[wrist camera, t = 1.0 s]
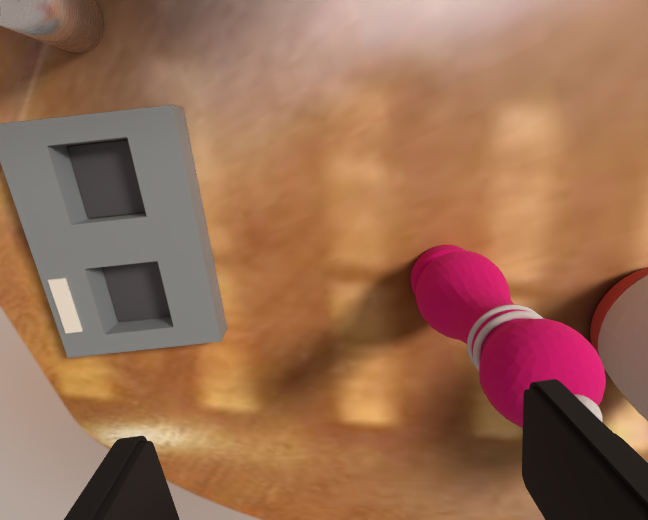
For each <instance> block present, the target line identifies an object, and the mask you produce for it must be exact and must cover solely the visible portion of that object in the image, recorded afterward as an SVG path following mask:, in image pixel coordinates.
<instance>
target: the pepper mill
mask: <svg viewBox="0 0 648 520" xmlns="http://www.w3.org/2000/svg"><path fill="white" fill-rule="evenodd" d="M410 283H411V288H412V290H413V292H414V294H415V296H416V302H417V306H418V309H419V311H420V313H421V315H422V316H423V318H424V319H425V320H426V321H427V322H428V324H429V325H430V326H431V327H432V328H434V329H435V330H437V331H438V332H439V333H441V334H443V335H445V336H447V337H450V338H453V339H458V340H461V341H463V342H465V343H466V344H467V350H468V354H469V357H470V359H471V361H472V363H473V364H474V365H475V366H476V368H477V369H478V371H479V375H480V383H481V385H482V388H483V390H484V393H485V394H486V396H487V398H488V399H489V401H490V402H491V404H492V405H493V406H494V407H495V409H496V410H497V411H498V412H499V413H501V414H502V415H503V416H504V417H505V418H506V419H508V420H510V421H511V422H513V423H515V424H516V425H518V426H520V427H522V428H523V394H524V391H525V390H526V389H529V386H530V384H531V383H532V382H537V381H544V380H551V379H557V380H559V381H560V382H561V383H562V384H563V385H564V386H565V387H566V388H568V389H569V390H570V391H571V392H572V393H573V394H574V395H575V396H576V397H577V398H578V399H579V400H580V401H581V402H582V403H583V404H584V405H585V406H586V407H587V408H588V409H589V410H590V411H591V412H592V413H593V414H594V415H595V416H596V417H597V418H598V419H599V420H600V421H601V422H602V419H603V418H602V413H601V411H600V409H599V407H598V406H599V404H600V403H601V401H602V398H603V394H604V390H605V384H606V378H605V370H604V366H603V364H602V361H601V359H600V357H599V355H598V353H597V352H596V350H595V349H594V347H593V346H592V345H591V344H590V342H588V341H587V340H586V339H585V338H584V337H583V336H582V335H581V334H580V333H578V332H577V331H576V330H574V329H572V328H571V327H569V326H567V325H565V324H563V323H561V322H557V321H553V320H550V319H544V318H543V317H541V316H539V315H538V314H537V313H536V312H535V311H533V310H532V309H530V308H527V307H525V306H521V305H514V304H513V302H512V301H511V299H510V292H509V287H508V284H507V282H506V279H505V278H504V276H503V274H502V272H501V271H500V270H499V268H498V267H497V266H496V265H495V264H493V263H492V262H491V261H490V260H489V259H487V258H486V257H484V256H482V255H480V254H478V253H474V252H470V251H465V250H464V249H462V248H460V247H457V246H453V245H441V246H436V247H433V248H431V249H429V250H428V251H426V252H425V253H423V254H422V255H421V256H420V257H419V258H418V260H417V261H416V262H415V264H414V266H413V268H412V271H411V276H410Z"/></svg>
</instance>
